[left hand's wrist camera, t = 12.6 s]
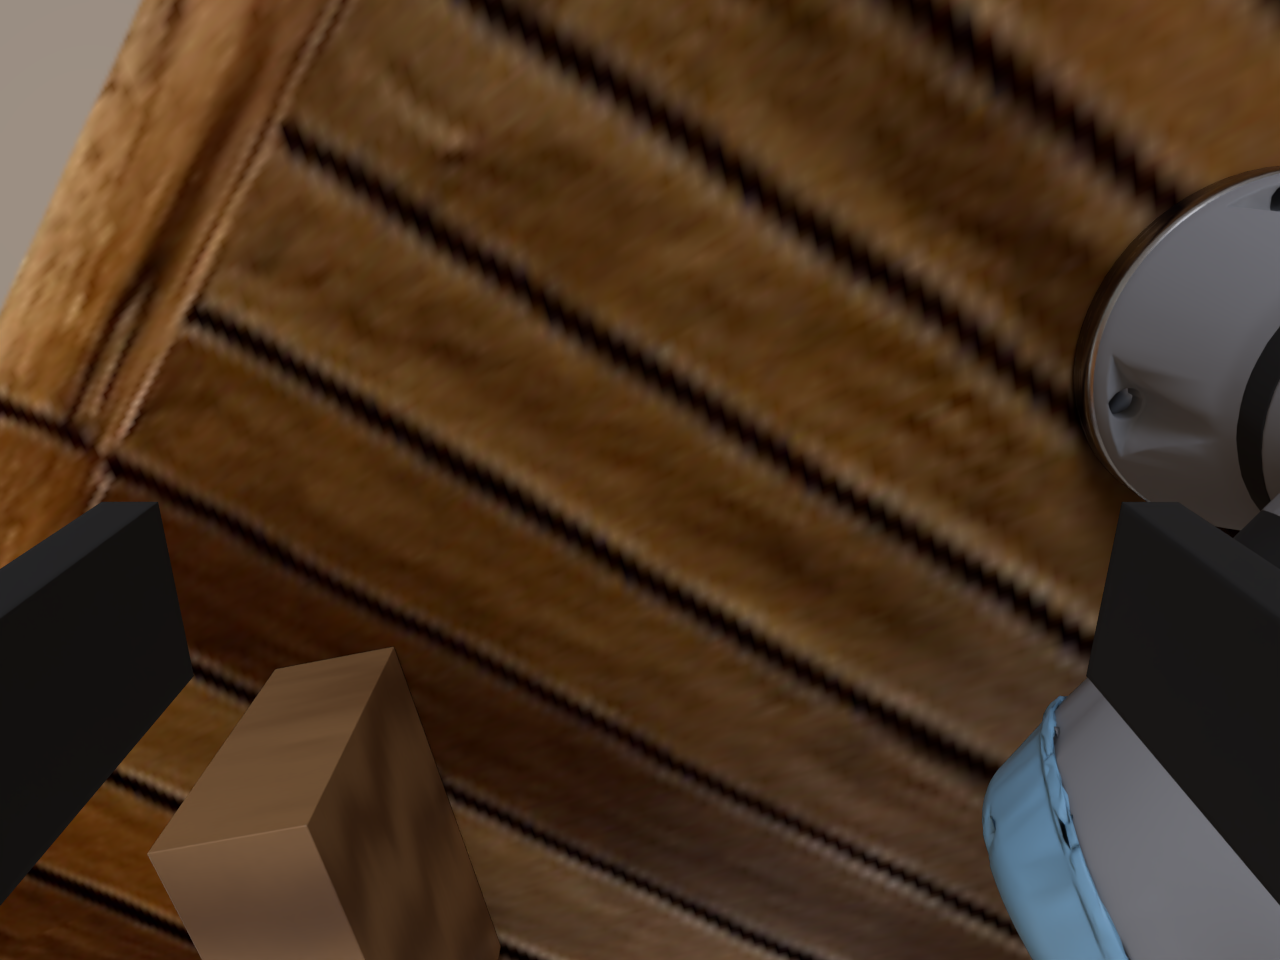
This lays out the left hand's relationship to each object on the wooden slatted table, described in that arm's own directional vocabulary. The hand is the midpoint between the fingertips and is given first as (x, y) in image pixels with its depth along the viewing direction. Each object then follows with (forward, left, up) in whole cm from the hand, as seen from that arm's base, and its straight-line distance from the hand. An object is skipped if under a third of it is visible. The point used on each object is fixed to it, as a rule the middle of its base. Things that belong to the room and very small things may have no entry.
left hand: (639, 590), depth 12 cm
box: (-3, +31, -27) cm, 41 cm away
